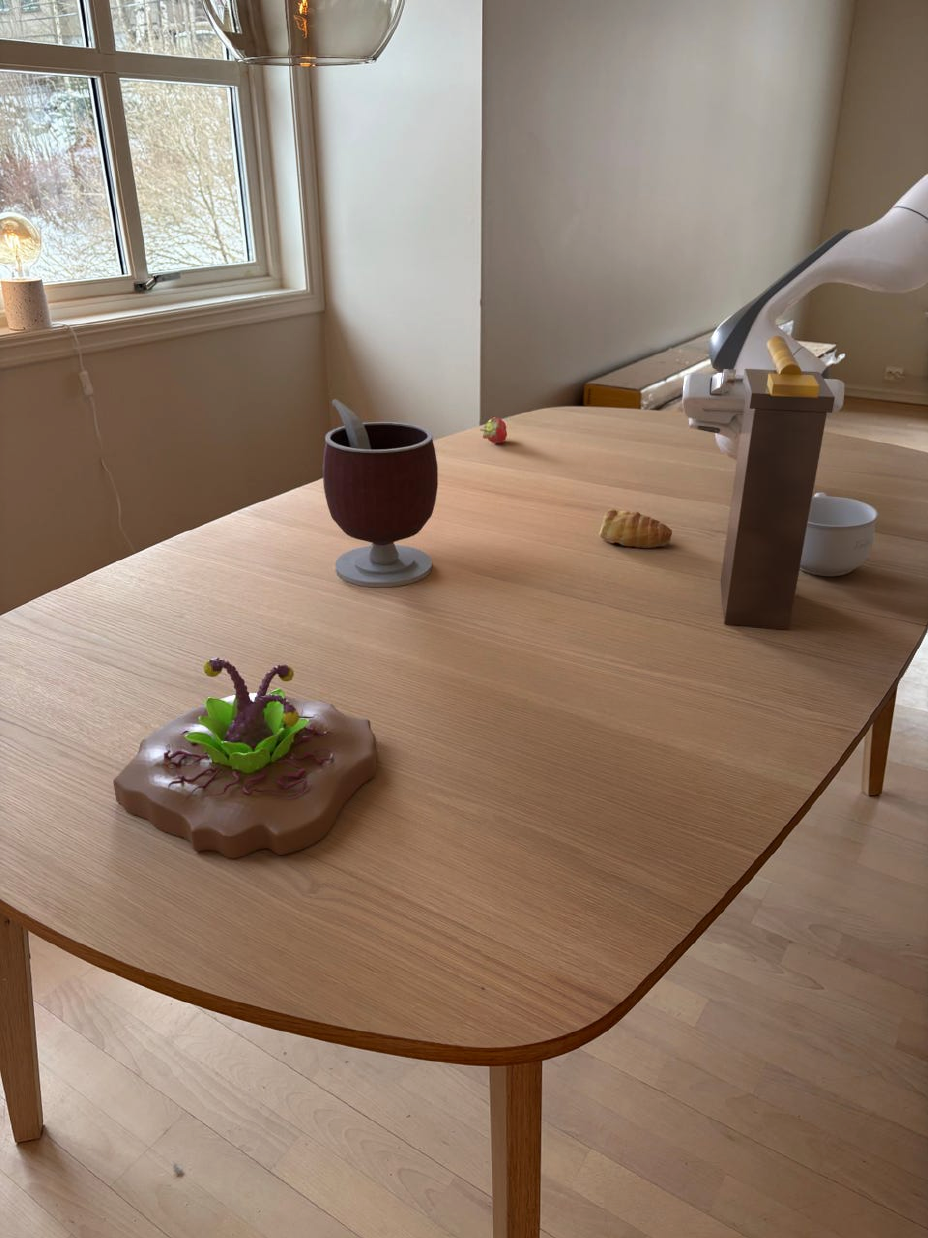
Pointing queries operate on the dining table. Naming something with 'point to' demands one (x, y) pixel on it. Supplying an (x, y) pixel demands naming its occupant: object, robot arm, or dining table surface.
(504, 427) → the fruit
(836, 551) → the teacup
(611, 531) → the pastry
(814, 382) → the toy blocks
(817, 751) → the dining table surface
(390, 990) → the dining table surface
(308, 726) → the plant
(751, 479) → the rectangular pillar
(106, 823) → the dining table surface
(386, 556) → the mate gourd
